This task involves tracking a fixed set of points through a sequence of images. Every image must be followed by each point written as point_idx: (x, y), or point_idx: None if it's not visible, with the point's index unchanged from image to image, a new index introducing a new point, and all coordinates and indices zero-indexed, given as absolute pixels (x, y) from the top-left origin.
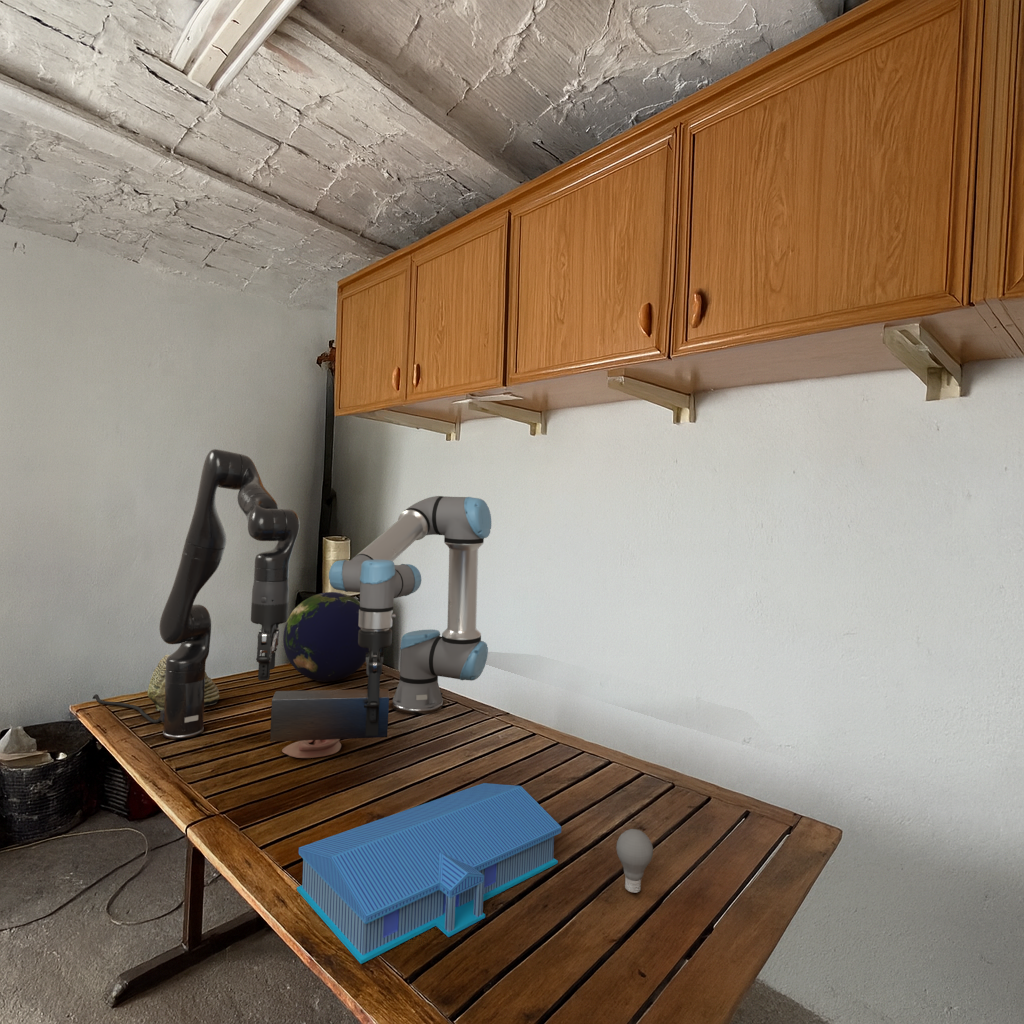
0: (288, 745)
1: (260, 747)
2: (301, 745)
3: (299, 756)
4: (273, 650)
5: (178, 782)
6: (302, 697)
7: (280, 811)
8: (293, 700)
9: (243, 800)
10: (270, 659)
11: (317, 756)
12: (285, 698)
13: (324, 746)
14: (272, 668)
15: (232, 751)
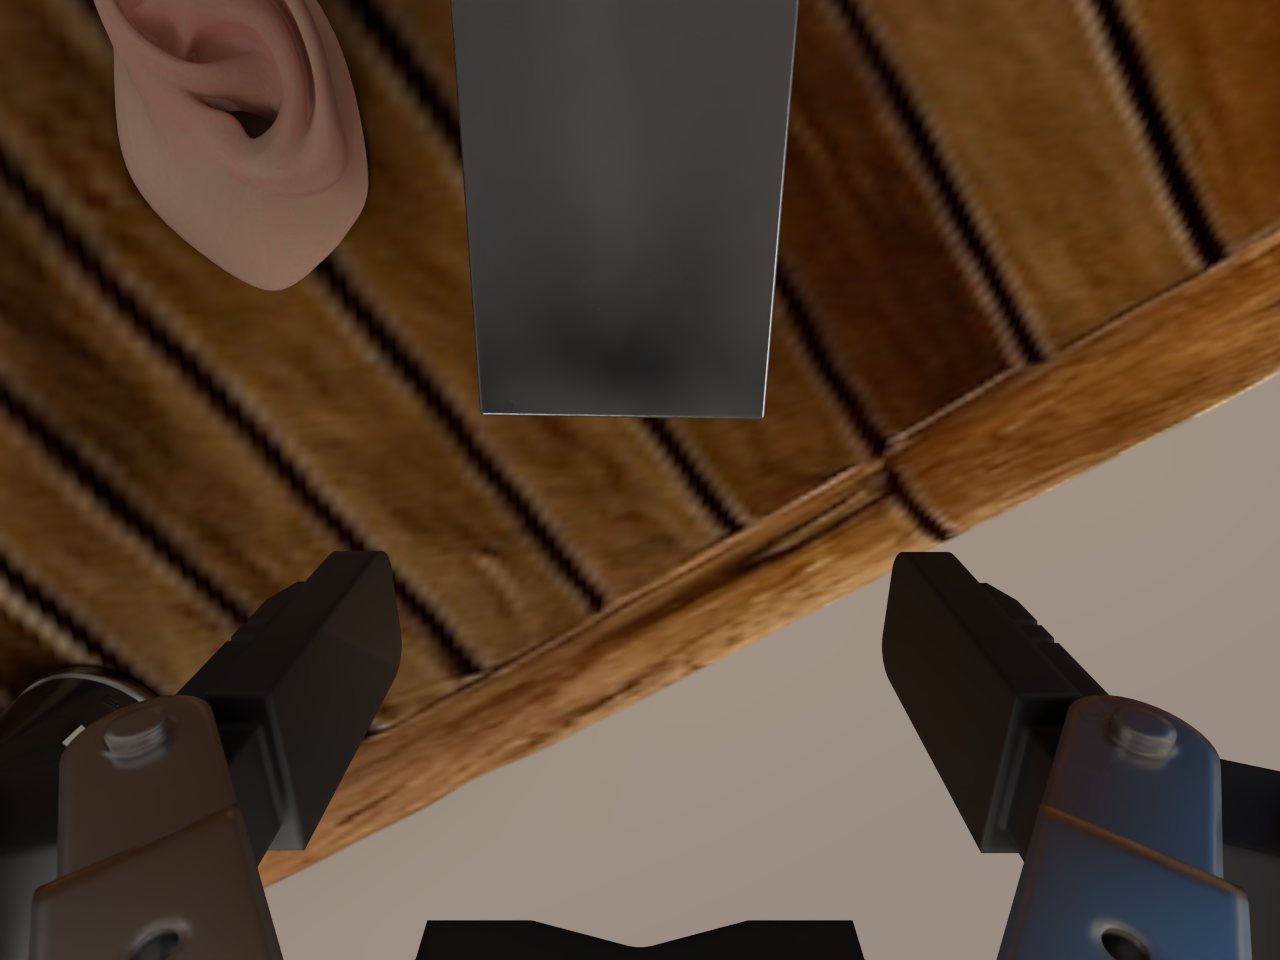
0: (240, 261)
1: (228, 402)
2: (317, 176)
3: (361, 185)
4: (1185, 863)
5: (588, 642)
6: (730, 94)
7: (935, 218)
8: (781, 197)
9: (791, 389)
10: (1174, 741)
11: (346, 79)
12: (741, 290)
13: (311, 23)
14: (386, 567)
15: (285, 514)
